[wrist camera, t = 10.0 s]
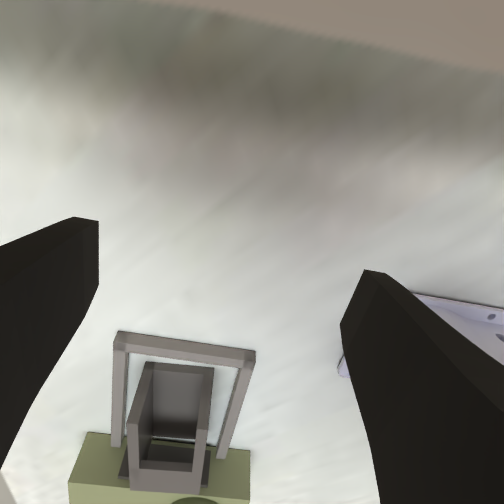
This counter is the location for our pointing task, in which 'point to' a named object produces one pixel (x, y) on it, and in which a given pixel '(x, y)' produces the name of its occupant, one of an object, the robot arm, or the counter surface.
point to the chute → (169, 425)
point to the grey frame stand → (116, 449)
